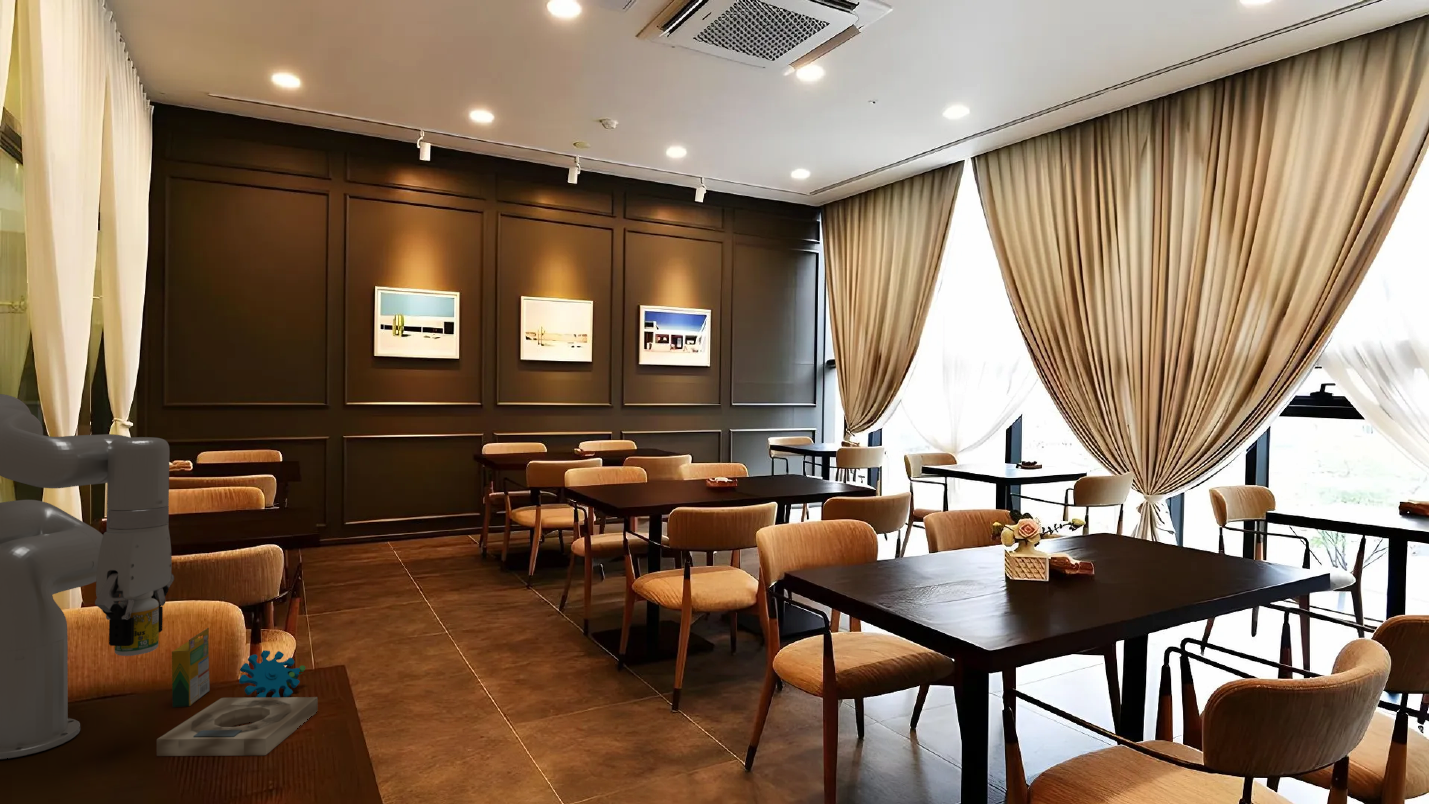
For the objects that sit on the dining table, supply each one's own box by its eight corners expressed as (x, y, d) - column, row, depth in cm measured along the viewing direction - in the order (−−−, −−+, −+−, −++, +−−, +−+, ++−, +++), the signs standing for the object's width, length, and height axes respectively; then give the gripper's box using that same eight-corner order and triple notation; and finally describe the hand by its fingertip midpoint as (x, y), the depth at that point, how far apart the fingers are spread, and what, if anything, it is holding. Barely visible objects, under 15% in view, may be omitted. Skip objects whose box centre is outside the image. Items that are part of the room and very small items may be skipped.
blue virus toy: (246, 702, 132) (237, 651, 137) (233, 721, 134) (224, 670, 139) (313, 692, 140) (301, 644, 145) (299, 710, 142) (288, 662, 147)
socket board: (156, 756, 115) (156, 738, 115) (222, 712, 131) (222, 696, 131) (265, 755, 116) (265, 737, 116) (317, 711, 132) (317, 695, 132)
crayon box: (192, 691, 140) (192, 628, 140) (210, 690, 141) (210, 627, 141) (170, 707, 133) (170, 640, 133) (189, 706, 134) (190, 639, 134)
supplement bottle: (164, 644, 120) (165, 582, 120) (149, 655, 115) (150, 591, 115) (123, 646, 119) (124, 584, 119) (106, 657, 114) (108, 592, 114)
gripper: (152, 510, 125) (150, 621, 126) (67, 528, 108) (65, 657, 109) (199, 511, 126) (197, 622, 126) (121, 529, 109) (119, 658, 109)
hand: (136, 637), depth 117 cm, fingers closed on supplement bottle, 5 cm apart
